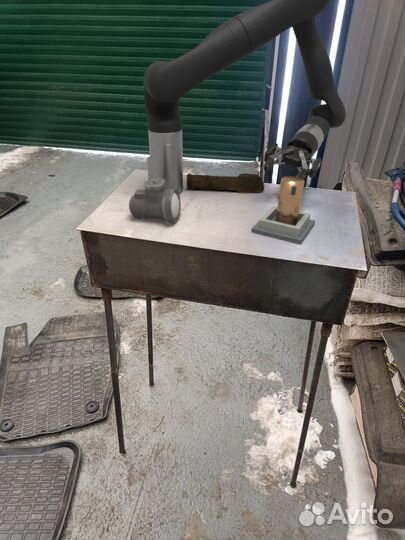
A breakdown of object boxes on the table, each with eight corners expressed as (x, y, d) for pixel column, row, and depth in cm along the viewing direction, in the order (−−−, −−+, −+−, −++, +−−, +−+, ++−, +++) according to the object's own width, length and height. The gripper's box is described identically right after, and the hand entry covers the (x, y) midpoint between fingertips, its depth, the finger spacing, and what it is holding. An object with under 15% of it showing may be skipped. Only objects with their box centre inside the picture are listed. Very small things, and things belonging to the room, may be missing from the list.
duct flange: (251, 232, 90) (252, 220, 89) (268, 214, 99) (270, 203, 98) (300, 244, 85) (302, 232, 84) (314, 224, 94) (316, 213, 93)
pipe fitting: (184, 212, 98) (178, 174, 92) (175, 228, 92) (168, 189, 86) (141, 212, 101) (133, 175, 95) (130, 227, 95) (120, 189, 89)
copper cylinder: (276, 229, 89) (282, 183, 84) (273, 219, 94) (279, 176, 88) (298, 230, 89) (306, 184, 83) (295, 220, 94) (302, 176, 88)
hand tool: (185, 191, 112) (185, 173, 109) (188, 186, 116) (188, 168, 113) (262, 197, 109) (264, 179, 106) (263, 191, 113) (265, 173, 110)
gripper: (284, 123, 105) (257, 153, 97) (333, 139, 101) (310, 171, 92) (280, 147, 111) (254, 177, 103) (326, 162, 107) (304, 195, 98)
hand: (280, 174), depth 98 cm, fingers open, 8 cm apart
